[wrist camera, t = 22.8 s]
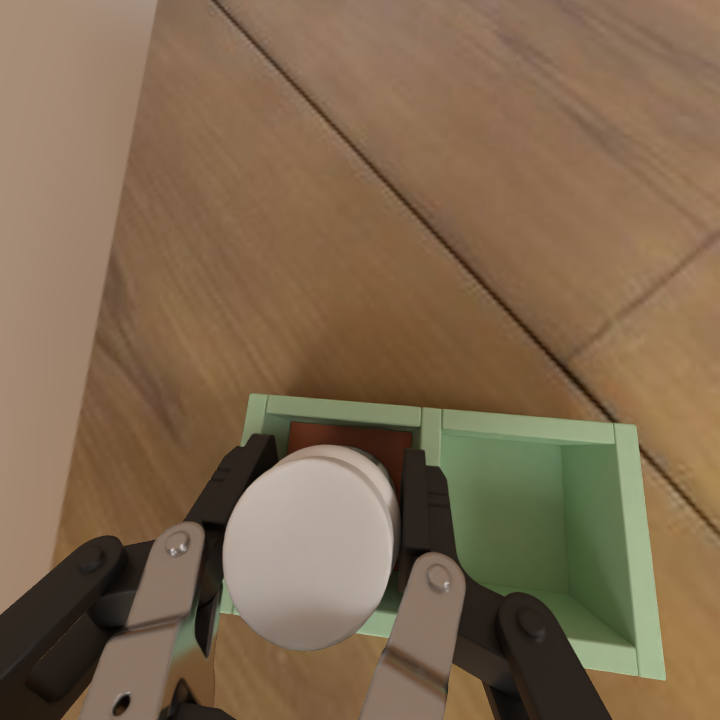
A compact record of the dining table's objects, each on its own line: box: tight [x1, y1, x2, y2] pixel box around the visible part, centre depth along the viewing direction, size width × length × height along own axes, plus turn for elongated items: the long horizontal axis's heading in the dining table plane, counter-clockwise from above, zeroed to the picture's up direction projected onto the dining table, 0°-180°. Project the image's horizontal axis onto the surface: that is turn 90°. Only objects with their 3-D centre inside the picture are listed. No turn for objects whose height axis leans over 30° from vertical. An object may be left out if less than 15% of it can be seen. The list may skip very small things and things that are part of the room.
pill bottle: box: [223, 444, 402, 651], centre depth 12 cm, size 5×5×8 cm
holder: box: [220, 393, 666, 680], centre depth 14 cm, size 15×8×4 cm, turn 85°
